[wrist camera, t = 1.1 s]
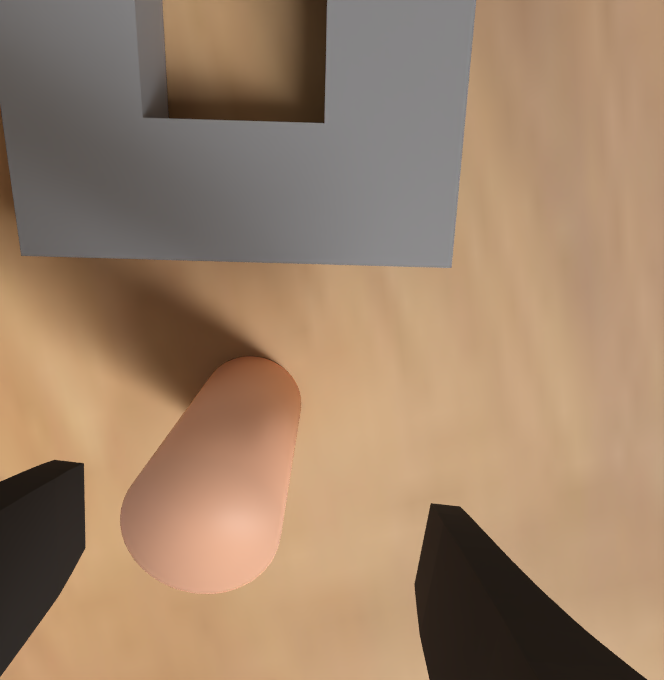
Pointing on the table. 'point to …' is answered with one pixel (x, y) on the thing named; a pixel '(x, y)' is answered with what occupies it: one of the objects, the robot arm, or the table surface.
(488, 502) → the table surface
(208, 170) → the hole board
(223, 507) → the peg
